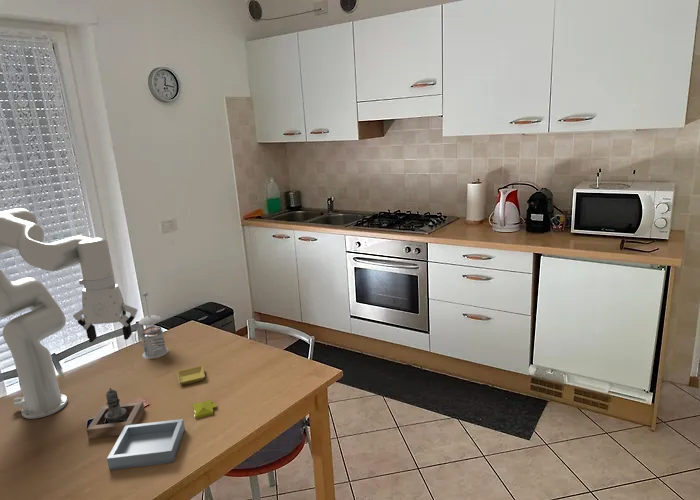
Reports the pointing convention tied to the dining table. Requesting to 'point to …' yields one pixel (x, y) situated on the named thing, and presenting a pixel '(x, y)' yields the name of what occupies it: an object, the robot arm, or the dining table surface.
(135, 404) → the hollow square frame
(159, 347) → the french press
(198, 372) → the yellow shallow rimmed piece
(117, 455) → the tray
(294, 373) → the dining table surface
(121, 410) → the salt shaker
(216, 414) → the dining table surface
